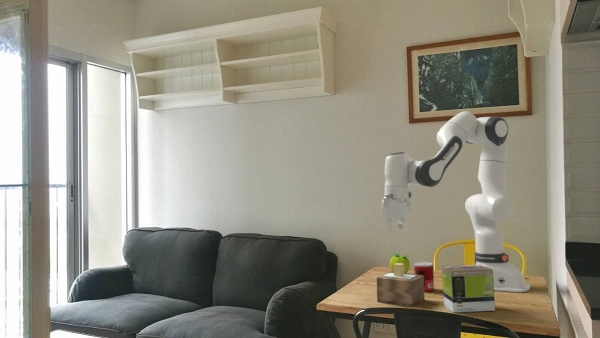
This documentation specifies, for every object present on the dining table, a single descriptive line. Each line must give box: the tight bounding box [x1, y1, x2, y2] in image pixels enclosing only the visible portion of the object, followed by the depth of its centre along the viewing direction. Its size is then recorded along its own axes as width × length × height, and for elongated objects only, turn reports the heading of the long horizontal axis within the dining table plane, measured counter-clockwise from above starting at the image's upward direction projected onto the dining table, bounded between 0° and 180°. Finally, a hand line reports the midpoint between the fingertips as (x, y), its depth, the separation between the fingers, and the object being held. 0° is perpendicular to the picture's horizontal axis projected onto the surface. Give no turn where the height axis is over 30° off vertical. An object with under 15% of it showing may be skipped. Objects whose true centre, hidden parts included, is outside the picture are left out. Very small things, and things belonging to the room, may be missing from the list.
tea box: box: [442, 264, 496, 313], centre depth 174 cm, size 15×10×15 cm, turn 92°
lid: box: [382, 263, 416, 280], centre depth 187 cm, size 12×9×7 cm
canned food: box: [413, 261, 435, 293], centre depth 203 cm, size 8×8×11 cm
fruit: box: [389, 253, 411, 274], centre depth 236 cm, size 9×9×10 cm
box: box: [376, 271, 425, 307], centre depth 187 cm, size 14×12×9 cm
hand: (396, 229), depth 188 cm, fingers open, 8 cm apart
